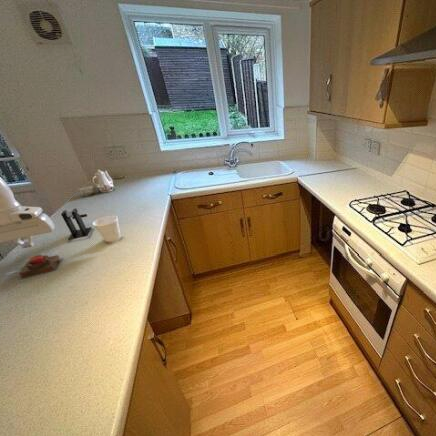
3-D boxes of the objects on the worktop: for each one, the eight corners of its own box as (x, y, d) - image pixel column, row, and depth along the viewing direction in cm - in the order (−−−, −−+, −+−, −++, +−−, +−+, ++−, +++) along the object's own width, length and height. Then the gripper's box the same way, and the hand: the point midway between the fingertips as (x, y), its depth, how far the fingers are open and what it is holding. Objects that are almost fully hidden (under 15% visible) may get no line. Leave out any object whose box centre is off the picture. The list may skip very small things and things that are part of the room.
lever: (73, 220, 126) (72, 215, 126) (87, 217, 128) (86, 213, 128) (61, 217, 114) (60, 213, 114) (77, 215, 117) (76, 210, 117)
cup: (114, 246, 113) (105, 226, 107) (96, 245, 114) (86, 225, 109) (130, 235, 121) (122, 216, 116) (113, 234, 123) (104, 215, 117)
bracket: (74, 232, 125) (61, 208, 119) (92, 228, 128) (81, 205, 122) (68, 242, 117) (54, 217, 111) (88, 237, 120) (76, 213, 114)
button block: (22, 277, 95) (16, 270, 93) (30, 266, 101) (25, 258, 99) (54, 270, 98) (49, 262, 97) (60, 259, 105) (56, 251, 103)
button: (29, 265, 96) (26, 262, 95) (33, 259, 99) (31, 256, 98) (42, 262, 97) (40, 259, 96) (45, 257, 100) (43, 253, 100)
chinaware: (107, 186, 193) (97, 165, 185) (126, 183, 191) (117, 163, 183) (79, 200, 168) (65, 177, 160) (100, 197, 167) (88, 174, 159)
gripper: (-38, 226, 82) (-12, 258, 88) (39, 212, 89) (58, 243, 96) (-26, 218, 87) (-3, 250, 93) (46, 206, 94) (63, 236, 101)
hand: (28, 246), depth 95 cm, fingers closed
